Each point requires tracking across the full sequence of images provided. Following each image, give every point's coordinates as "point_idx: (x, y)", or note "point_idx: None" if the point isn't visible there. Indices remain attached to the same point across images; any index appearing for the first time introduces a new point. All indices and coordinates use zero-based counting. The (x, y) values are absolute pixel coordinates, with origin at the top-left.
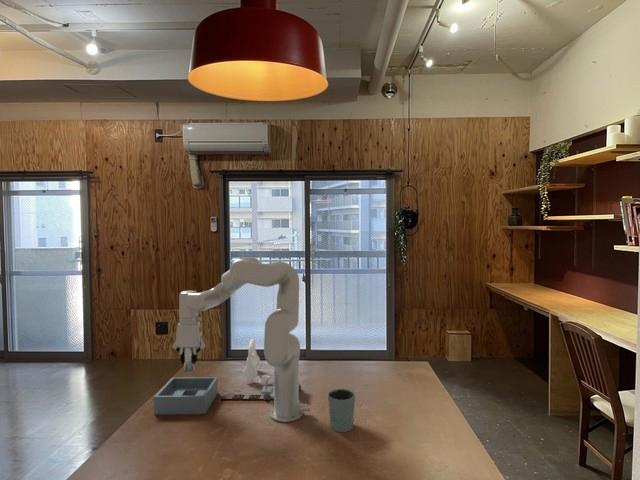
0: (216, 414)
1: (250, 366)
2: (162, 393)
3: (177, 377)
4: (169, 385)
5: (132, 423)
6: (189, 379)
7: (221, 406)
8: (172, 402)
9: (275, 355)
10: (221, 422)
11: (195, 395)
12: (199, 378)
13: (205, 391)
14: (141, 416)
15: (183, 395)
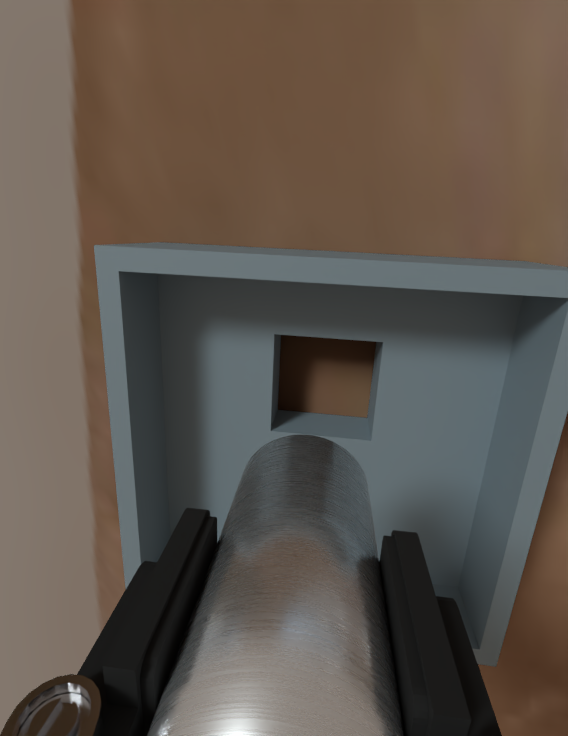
0: (526, 576)
1: None
2: (148, 511)
3: (147, 248)
4: (138, 377)
5: (112, 595)
6: (282, 278)
7: (557, 488)
8: None
9: None
10: (557, 655)
11: (376, 438)
12: (390, 286)
13: (446, 374)
14: (118, 539)
15: (275, 378)
